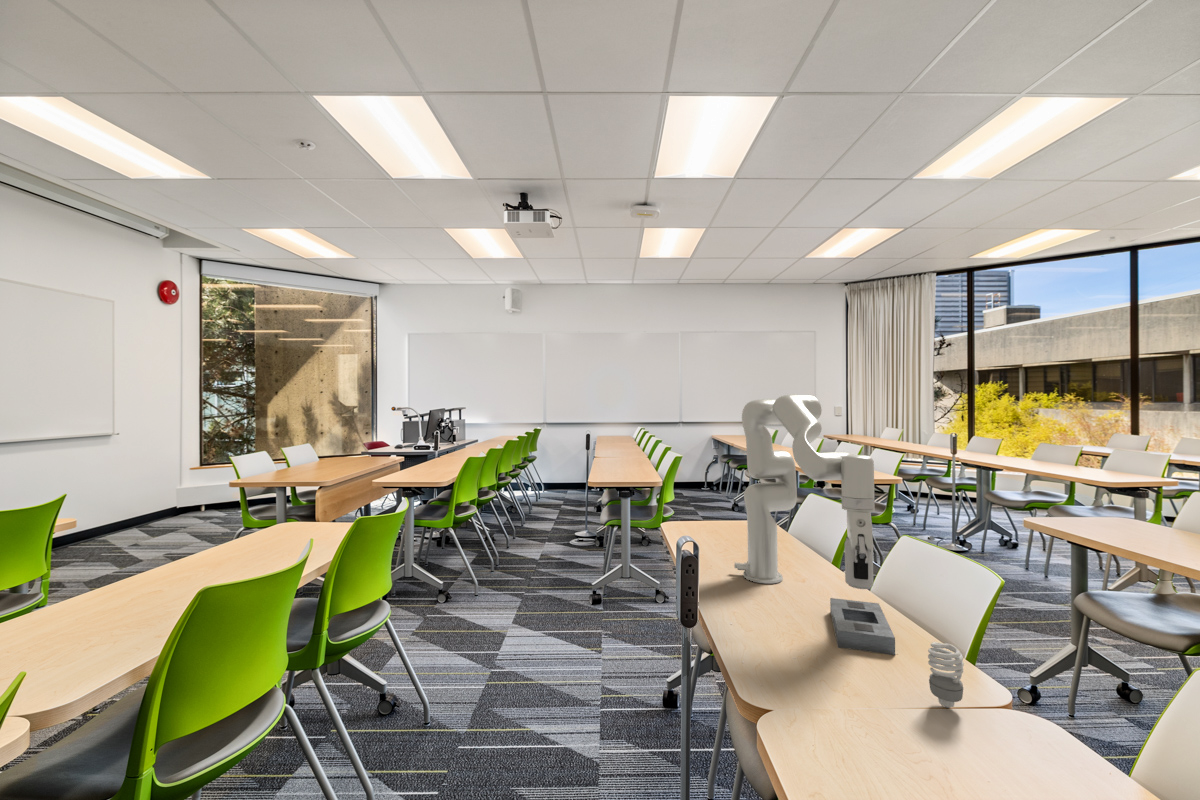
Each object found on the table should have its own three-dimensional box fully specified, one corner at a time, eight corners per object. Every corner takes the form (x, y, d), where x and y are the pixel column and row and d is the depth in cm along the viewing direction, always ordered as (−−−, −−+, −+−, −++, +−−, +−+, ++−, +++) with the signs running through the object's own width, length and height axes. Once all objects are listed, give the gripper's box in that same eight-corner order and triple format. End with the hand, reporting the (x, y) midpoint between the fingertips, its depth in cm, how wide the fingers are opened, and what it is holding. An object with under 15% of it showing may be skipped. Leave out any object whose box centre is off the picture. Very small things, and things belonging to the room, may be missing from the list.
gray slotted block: (837, 647, 121) (837, 629, 121) (830, 612, 142) (830, 597, 142) (895, 655, 117) (895, 637, 117) (878, 618, 138) (878, 602, 138)
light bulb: (966, 707, 97) (965, 643, 97) (962, 720, 93) (960, 653, 93) (931, 695, 100) (930, 634, 101) (925, 708, 96) (924, 644, 97)
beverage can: (862, 591, 125) (861, 543, 126) (839, 584, 131) (839, 537, 131) (879, 587, 128) (878, 539, 129) (855, 580, 134) (855, 534, 134)
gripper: (880, 510, 121) (881, 587, 120) (869, 498, 137) (870, 566, 136) (845, 508, 123) (846, 583, 123) (838, 497, 139) (839, 563, 139)
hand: (859, 573), depth 130 cm, fingers closed on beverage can, 6 cm apart
